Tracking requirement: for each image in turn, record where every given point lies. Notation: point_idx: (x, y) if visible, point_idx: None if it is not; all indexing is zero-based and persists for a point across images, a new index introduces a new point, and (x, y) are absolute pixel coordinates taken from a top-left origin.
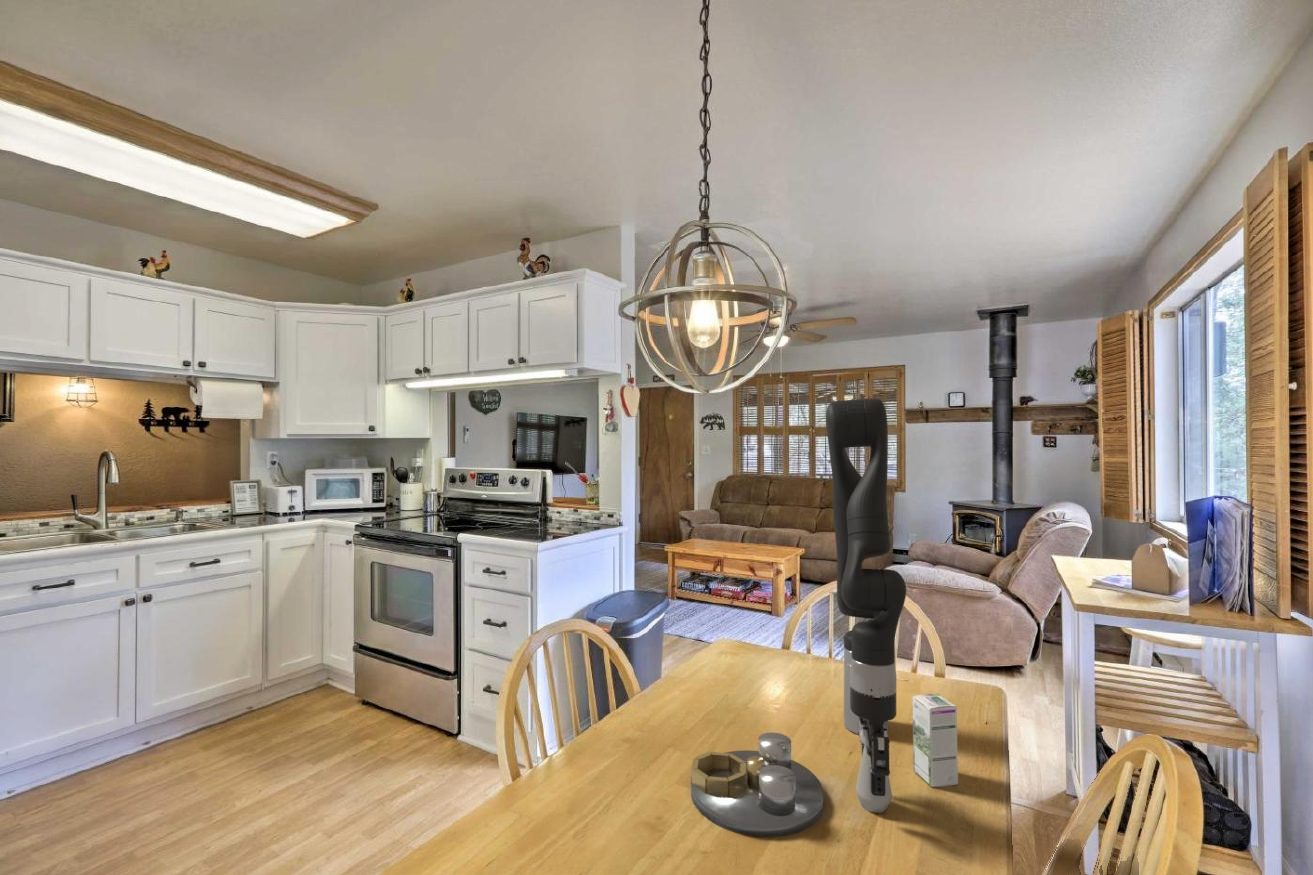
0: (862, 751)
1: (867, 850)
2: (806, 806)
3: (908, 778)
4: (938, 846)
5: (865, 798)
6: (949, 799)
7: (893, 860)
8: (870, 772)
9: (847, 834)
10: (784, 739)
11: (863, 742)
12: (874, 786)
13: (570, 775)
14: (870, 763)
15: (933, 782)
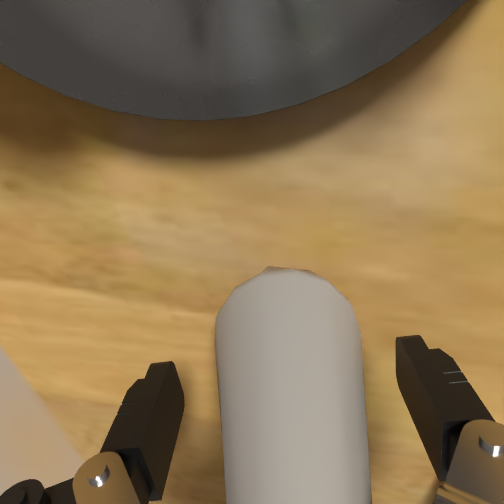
0: (430, 400)
1: (15, 277)
2: (53, 36)
3: (498, 413)
4: None
5: (223, 307)
6: (385, 489)
7: (12, 341)
8: (221, 408)
9: (65, 217)
10: None
11: None
12: (133, 402)
13: None
14: (102, 496)
15: None
